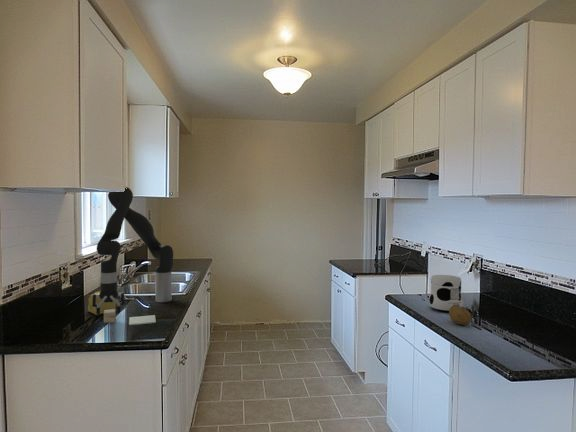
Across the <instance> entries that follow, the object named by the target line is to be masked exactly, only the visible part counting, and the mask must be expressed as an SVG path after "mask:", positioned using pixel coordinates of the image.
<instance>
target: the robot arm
mask: <svg viewBox="0 0 576 432" xmlns="http://www.w3.org/2000/svg"><path fill="white" fill-rule="evenodd" d="M125 187H126V188H127V189H126V188H125V191H124V192H110V191H109V192H108V194H107V197H108V201H109V203H110V204H111V206H112V207H114V209H115V210H114V212H113V213H112V214H111V216H110V217H109V219H108V221H107V222H106V227H105V230H104V233H103V235H102V236H101V238H100V239H99V241H98V242H97V244H96V252H97V253H98V255H99V256H110V257H109V259H105V260H104V259H103V260H102V261H101V262H100V276H99V277H100V278H99V280H100V282H99V290H100V291H99V292H100V294H94V293H93V294H94V295H93V304H92V306H93V307H96V308H97V314H98V315H97V316H100V315H101V314H100V305H101V304H102V303H103V302H105V303H106V302H113V301H114V302H115V303H116V306H117V307H116V309H117V311H116V312H117V313H116V315H119V314H120V313H121V308H122V307H121V306H123V305H125V292H124V291H121V292H118V274H117V273H118V272H117V268H118V267H117V263H118V258H119V255H120V252H121V248H122V247H121V243H120V242H119V241H118V240H117V239H119V238H120V235H121V231H122V228H123V227H122V226H123V224H124V223H123V222H124V221H125V220H126V222H127V223H128V224H129V225H130V226H131V228H132V229H133V231H134V232H135V234H136V235H138V237H139V238H140V240H141V241H142V242H143V244H145V246H146V247H147V249H148V251H149V252H150V254H151V256H152V258H154V259H156V260H158V261H159V264H158V266H156V267H155V268H154V278H155V279H154V280H155V281H154V287H155V292H154V294H155V295H154V297H155V302H156V303H168V302H171V301H172V298H173V297H172V296H173V295H172V286H173V285H172V284H173V283H172V281H173V280H172V269H173V267H174V266H173V265H174V250H173V247H172V246H170V245H168V244H162V243H161V242H160V241H158V238H157V237H156V236H155V232H154V227H153V225H152V224H151V222H150V221H149V219H148V218H147V217H146V216H144V214H142V213H139V212H138V211H136V210H134V209H132V208H131V207H130V206H131V204H132V202H133V199H134V195H133V191H132V189H130V187H128V186H125ZM98 296H99V297H100V298H101V301H100V302H99V303H98V304H96V299H97V298H98ZM118 296H119V297H120V298H121V302H120V301H119V300H118V298H117V297H118Z"/></svg>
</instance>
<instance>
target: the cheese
mask: <svg viewBox="0 0 576 432" xmlns="http://www.w3.org/2000/svg"><path fill="white" fill-rule="evenodd" d="M94 294H100V291H95V292H94V293H93V294H90V296H89V297H88V300H87V301H88V306H87V311H88V312H89V313H92V314H93V315H95V316H99V315H98V314H97V308H96V307H93V306H92V304H93V295H94ZM100 301H101V298H100V297H99V296H98V298H97V299H96V304H98V303H99V302H100ZM116 306H117V304H116V303H115V302H114V301H113V302H106V303H105V302H103V303H102V304H101V305H100V315H104V310H113V309H116V308H117V307H116Z"/></svg>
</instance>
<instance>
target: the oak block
mask: <svg viewBox="0 0 576 432" xmlns="http://www.w3.org/2000/svg"><path fill="white" fill-rule="evenodd" d="M116 309H117V308H115V309H113V310H104V313H103V324H107V323H115V322H116V317H117V316H116V315H117V313H116V312H117V311H116Z"/></svg>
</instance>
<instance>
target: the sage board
mask: <svg viewBox="0 0 576 432" xmlns="http://www.w3.org/2000/svg"><path fill="white" fill-rule="evenodd" d="M128 320H129V322H128V325H129V326H138V325H146V324H147V325H149V324H156V323H157V321H156V315H155V314H152V315H143V316H131V317H130V316H129V319H128Z"/></svg>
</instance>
